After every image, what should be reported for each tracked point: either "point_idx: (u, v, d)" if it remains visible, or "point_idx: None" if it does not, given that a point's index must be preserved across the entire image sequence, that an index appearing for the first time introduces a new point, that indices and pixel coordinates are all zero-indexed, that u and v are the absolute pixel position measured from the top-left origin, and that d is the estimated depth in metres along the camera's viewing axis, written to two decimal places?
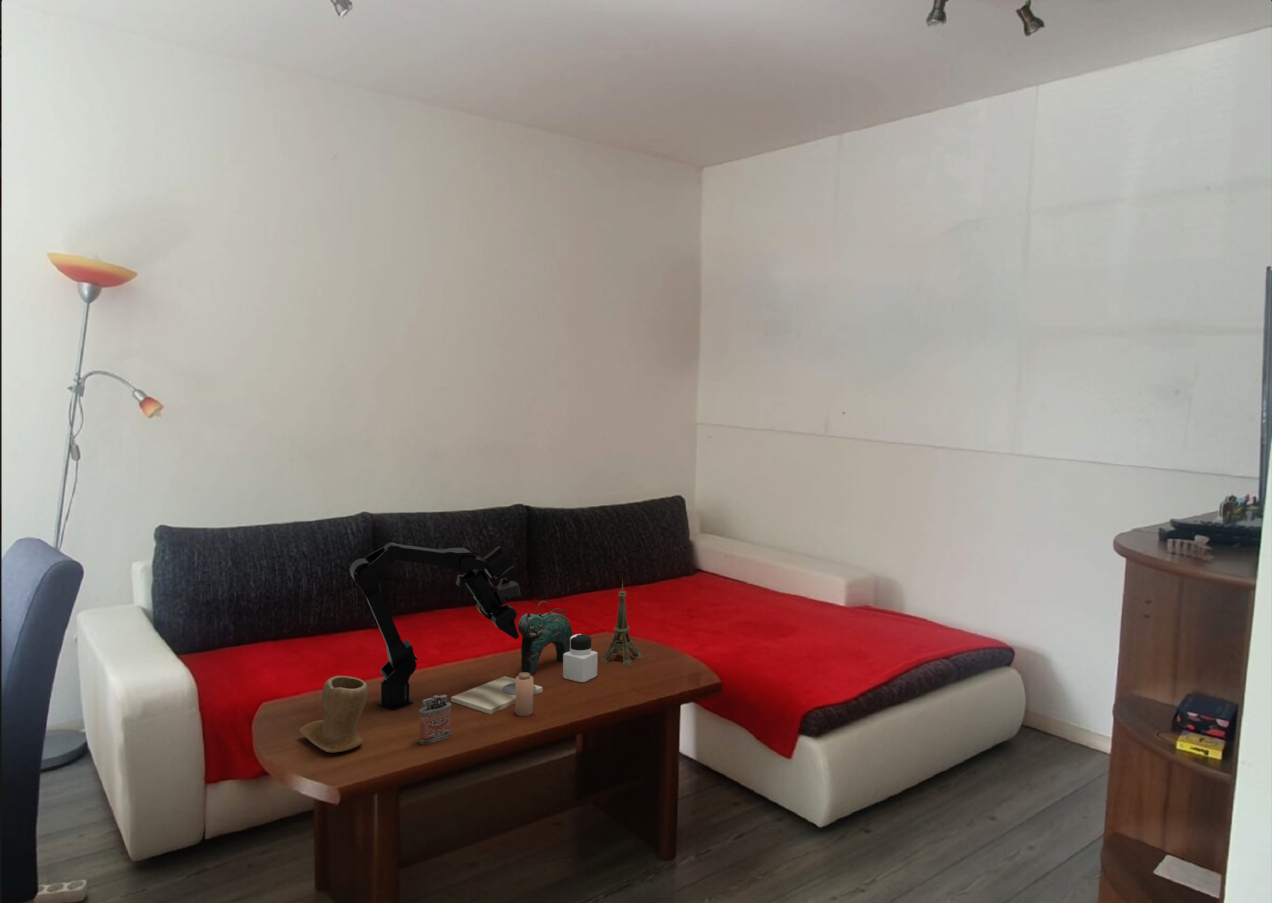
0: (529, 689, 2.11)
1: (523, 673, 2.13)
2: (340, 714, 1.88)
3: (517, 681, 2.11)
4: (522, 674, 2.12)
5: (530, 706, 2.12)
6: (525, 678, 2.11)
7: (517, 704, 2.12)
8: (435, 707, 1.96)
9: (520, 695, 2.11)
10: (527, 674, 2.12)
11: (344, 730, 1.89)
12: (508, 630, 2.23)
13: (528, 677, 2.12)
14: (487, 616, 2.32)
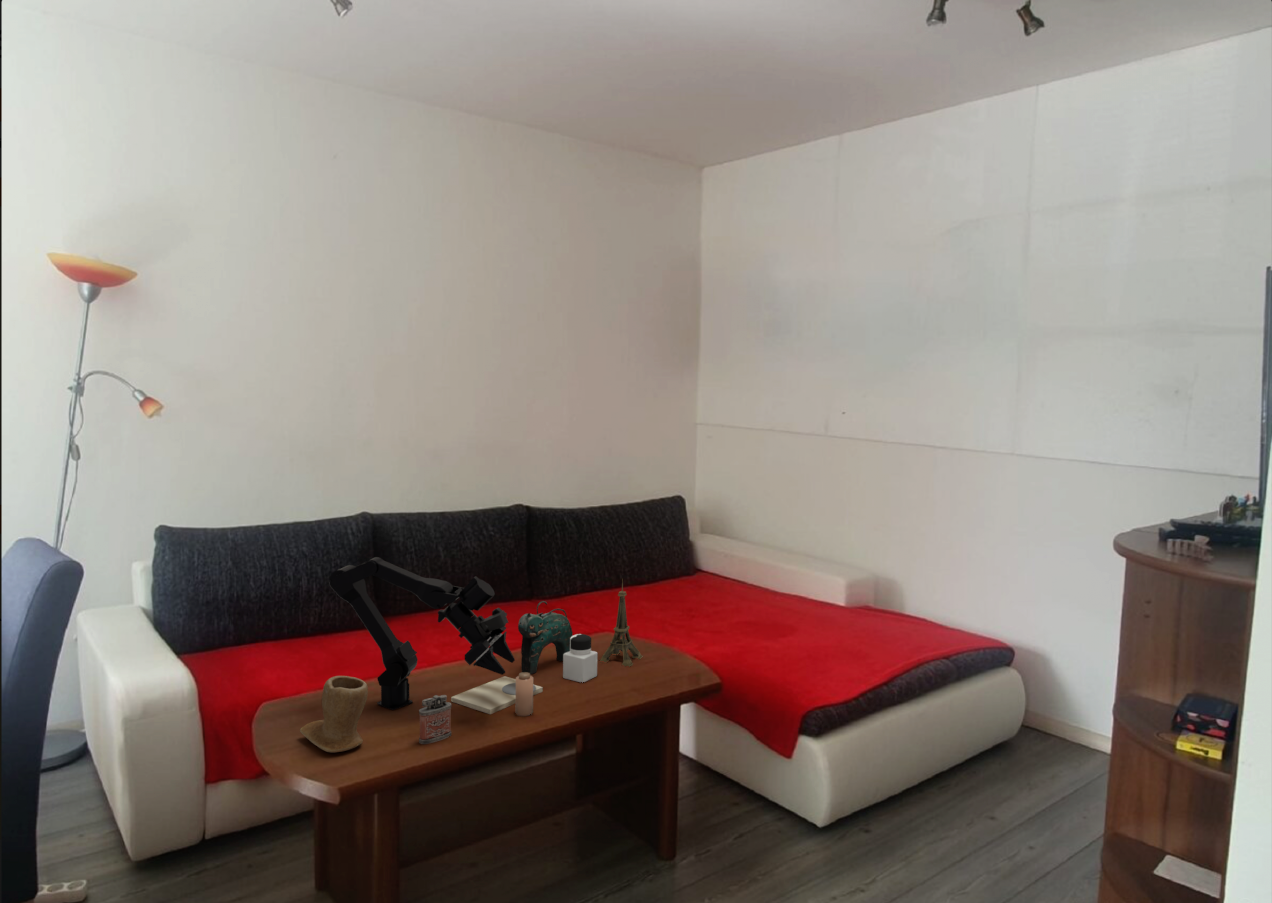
0: (529, 689, 2.11)
1: (523, 673, 2.13)
2: (340, 714, 1.88)
3: (517, 681, 2.11)
4: (522, 674, 2.12)
5: (530, 706, 2.12)
6: (525, 678, 2.11)
7: (517, 704, 2.12)
8: (435, 707, 1.96)
9: (520, 695, 2.11)
10: (527, 674, 2.13)
11: (344, 730, 1.89)
12: (488, 665, 2.07)
13: (528, 677, 2.12)
14: None
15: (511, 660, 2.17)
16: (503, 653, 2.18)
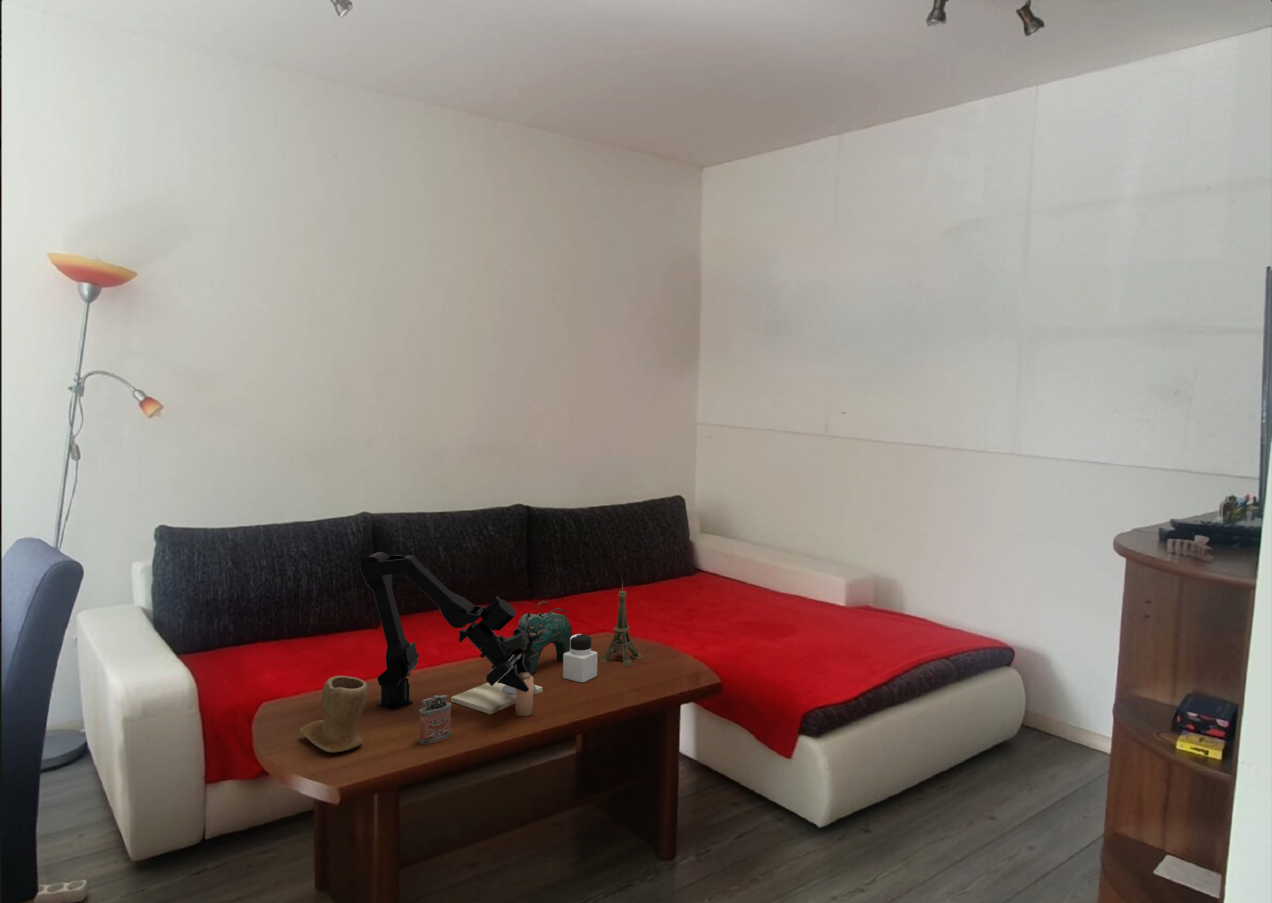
0: (529, 689, 2.11)
1: (523, 673, 2.13)
2: (340, 714, 1.88)
3: None
4: (522, 674, 2.12)
5: (530, 706, 2.12)
6: (525, 678, 2.11)
7: (517, 704, 2.12)
8: (435, 707, 1.96)
9: (520, 694, 2.11)
10: (527, 674, 2.12)
11: (344, 730, 1.89)
12: (512, 683, 2.09)
13: (528, 677, 2.12)
14: None
15: None
16: None
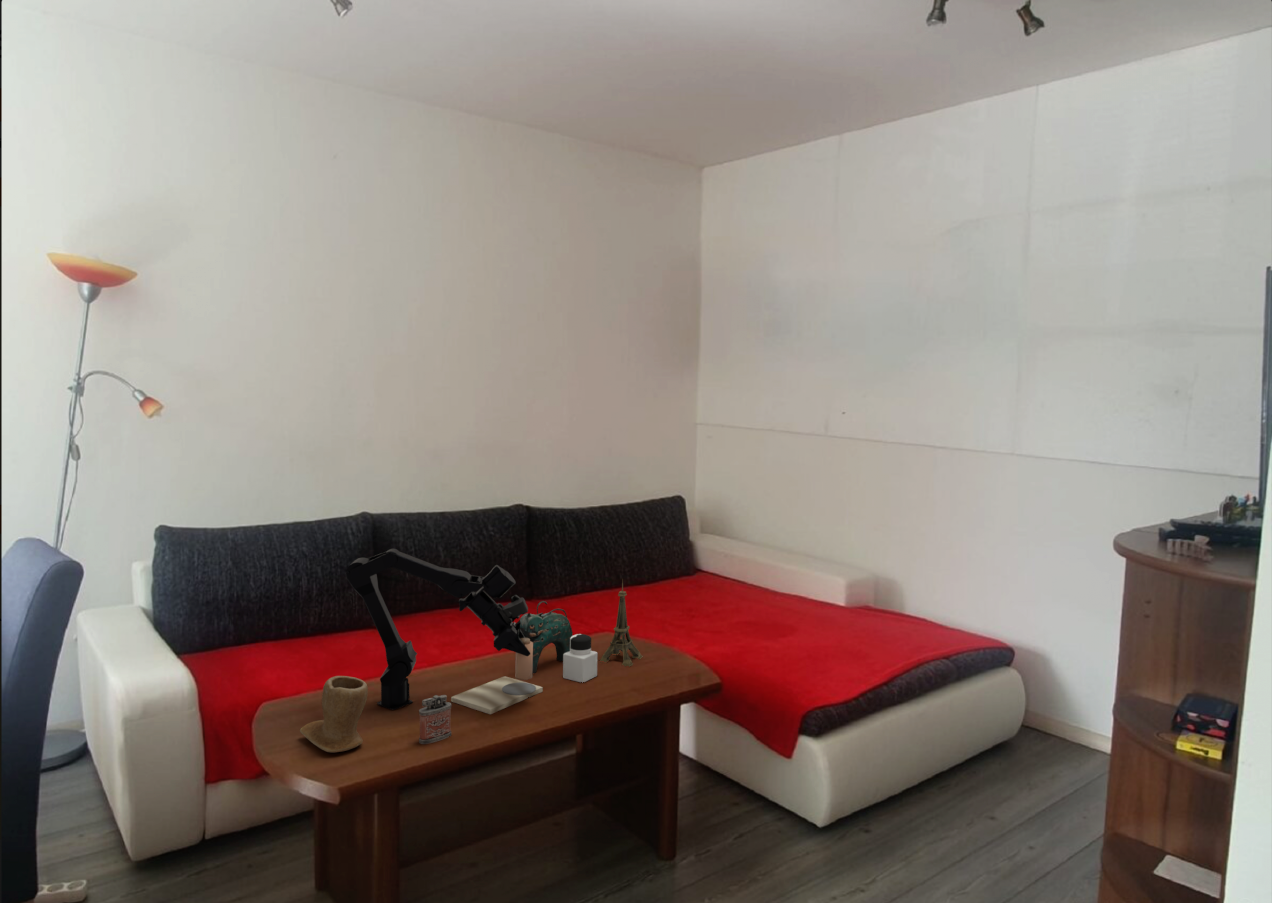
0: (530, 653, 2.18)
1: (523, 638, 2.19)
2: (340, 714, 1.88)
3: None
4: (523, 639, 2.18)
5: (531, 670, 2.19)
6: (526, 643, 2.18)
7: (518, 668, 2.18)
8: (435, 707, 1.96)
9: (522, 659, 2.17)
10: (527, 639, 2.19)
11: (344, 730, 1.89)
12: (515, 648, 2.15)
13: (528, 642, 2.19)
14: None
15: None
16: None
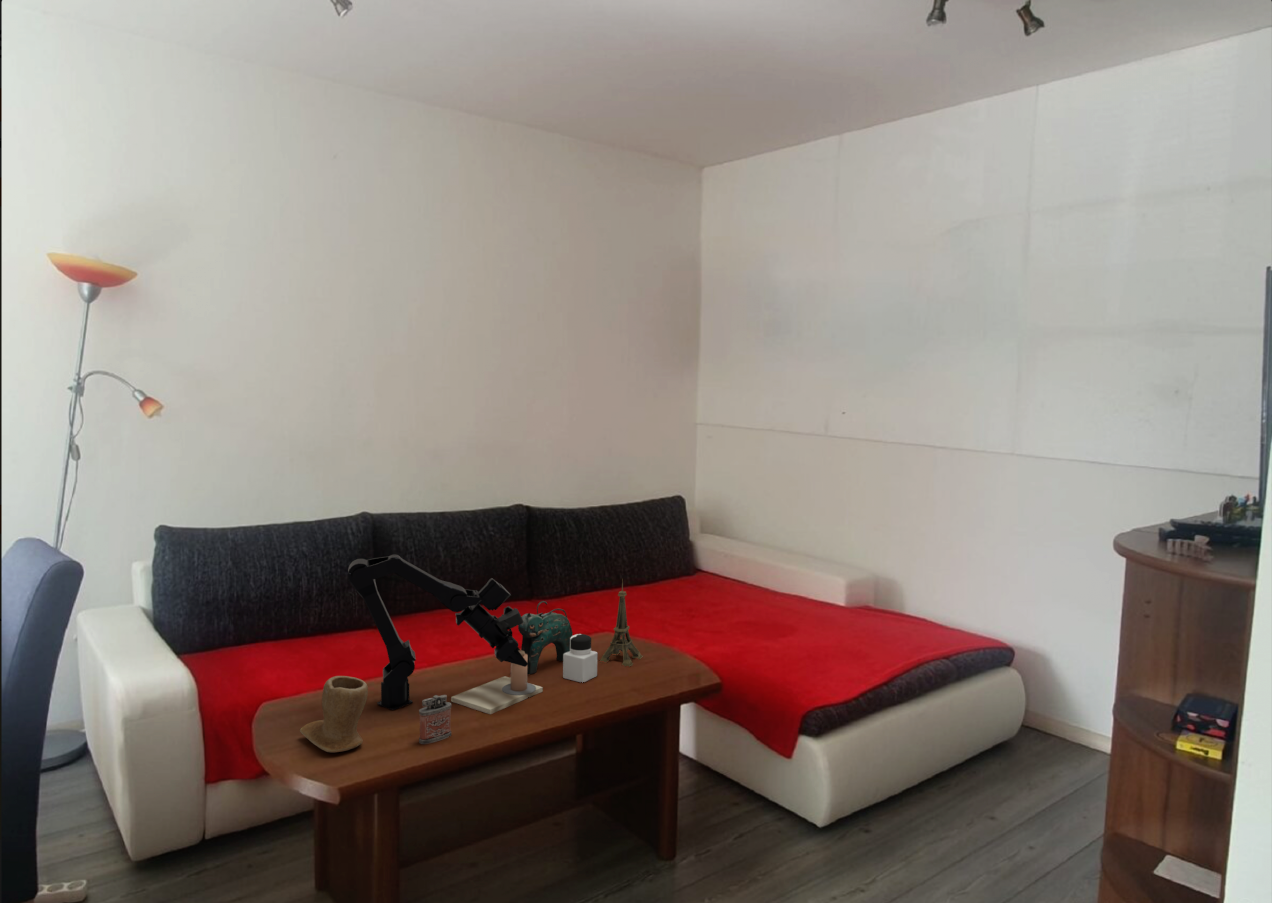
0: None
1: None
2: (340, 714, 1.88)
3: None
4: None
5: (526, 681, 2.26)
6: (522, 655, 2.25)
7: (515, 681, 2.24)
8: (435, 707, 1.96)
9: (518, 671, 2.24)
10: (522, 651, 2.26)
11: (344, 730, 1.89)
12: (514, 659, 2.20)
13: (524, 654, 2.25)
14: None
15: None
16: None
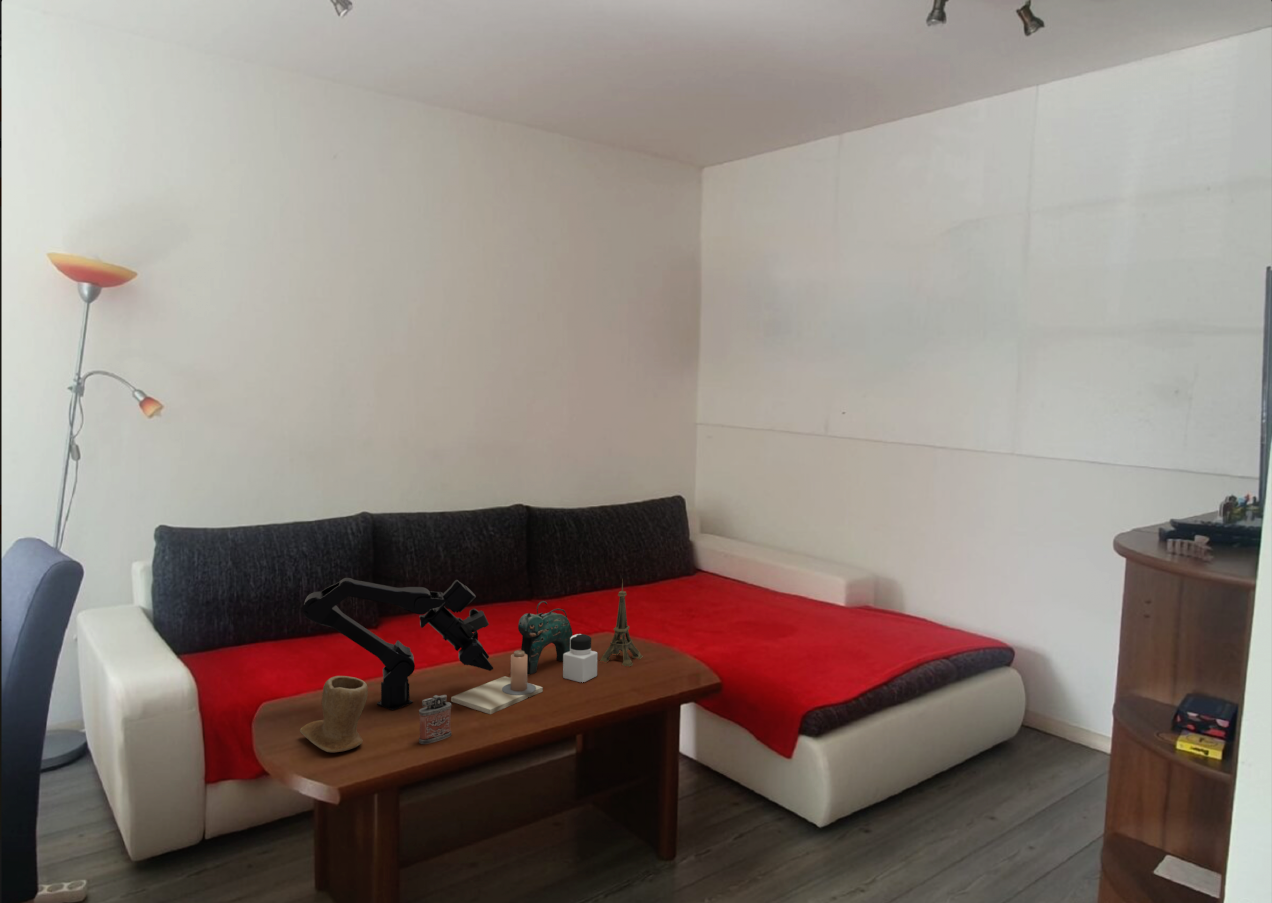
0: (526, 665, 2.25)
1: (517, 651, 2.26)
2: (340, 714, 1.88)
3: (514, 659, 2.24)
4: (518, 652, 2.25)
5: (526, 681, 2.26)
6: (522, 655, 2.25)
7: (515, 681, 2.24)
8: (435, 707, 1.96)
9: (518, 671, 2.24)
10: (522, 651, 2.26)
11: (344, 730, 1.89)
12: (479, 663, 2.17)
13: (524, 654, 2.25)
14: None
15: (486, 657, 2.28)
16: None
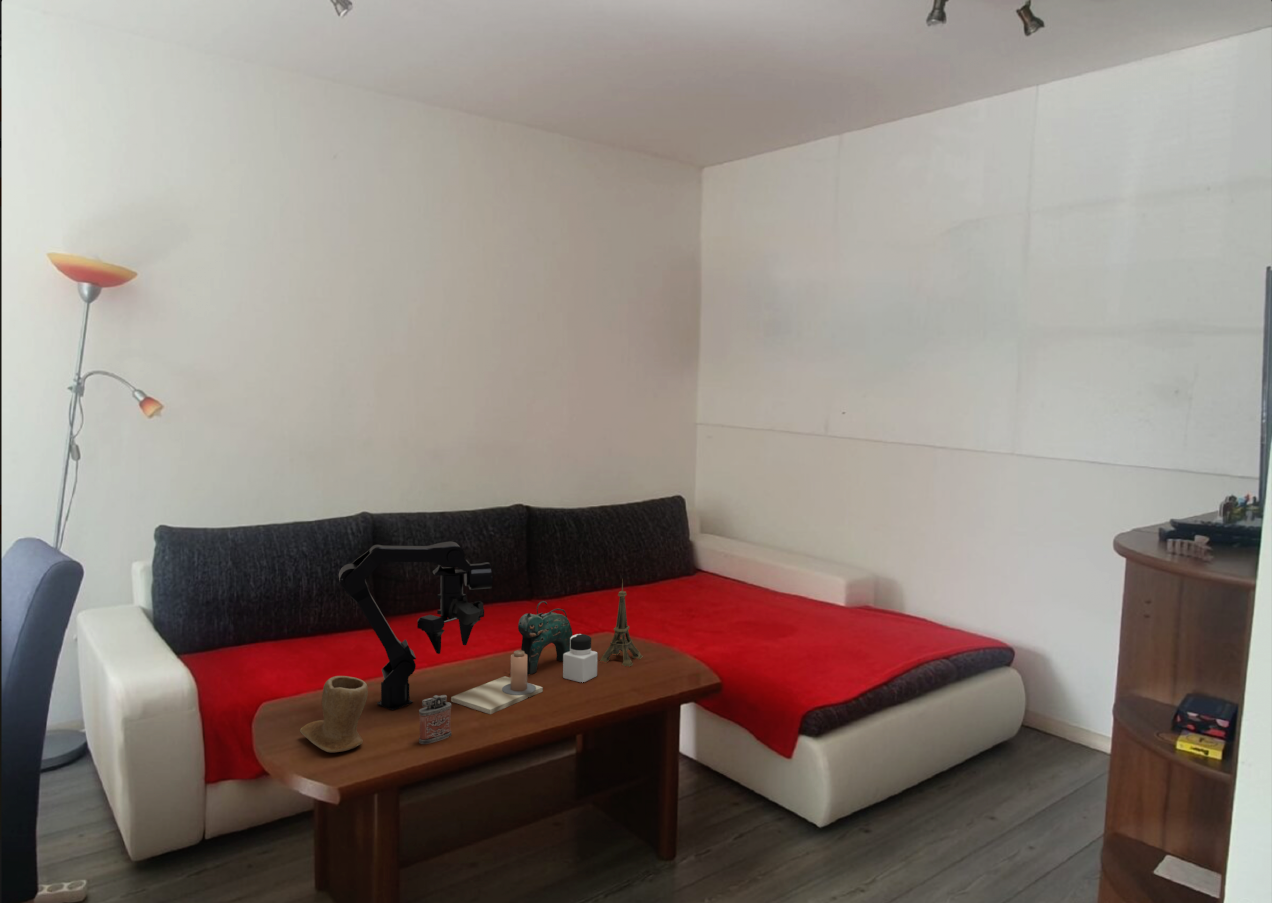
0: (526, 665, 2.25)
1: (517, 651, 2.26)
2: (340, 714, 1.88)
3: (514, 659, 2.24)
4: (518, 652, 2.25)
5: (526, 681, 2.26)
6: (521, 655, 2.25)
7: (515, 681, 2.24)
8: (435, 707, 1.96)
9: (518, 671, 2.24)
10: (522, 651, 2.26)
11: (344, 730, 1.89)
12: (432, 638, 2.17)
13: (523, 654, 2.25)
14: (459, 620, 2.27)
15: (463, 643, 2.25)
16: (463, 632, 2.25)
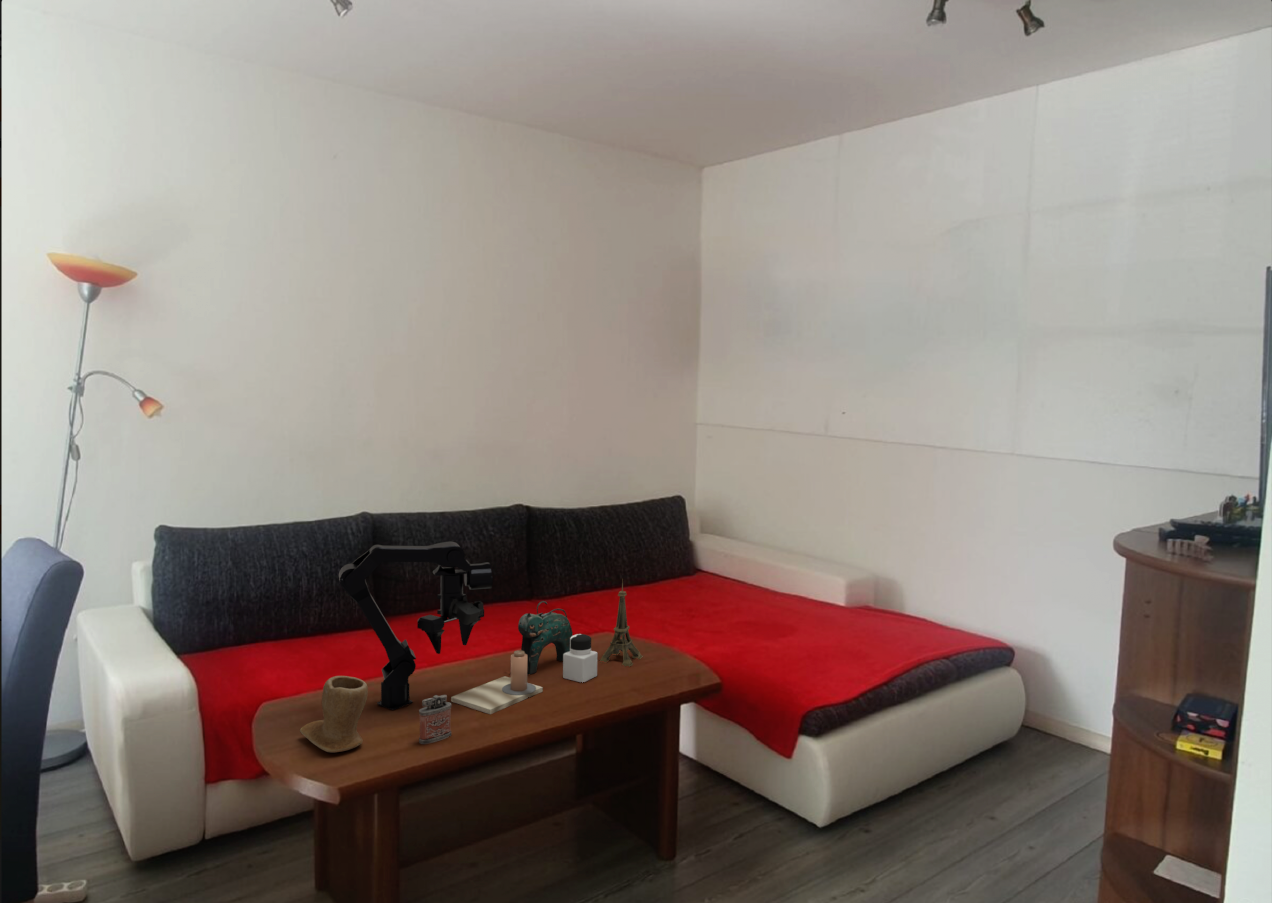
0: (526, 665, 2.25)
1: (517, 651, 2.26)
2: (340, 714, 1.88)
3: (514, 659, 2.24)
4: (518, 652, 2.25)
5: (526, 681, 2.26)
6: (522, 655, 2.25)
7: (515, 681, 2.24)
8: (435, 707, 1.96)
9: (518, 671, 2.24)
10: (522, 651, 2.26)
11: (344, 730, 1.89)
12: (432, 638, 2.17)
13: (524, 654, 2.25)
14: (459, 620, 2.27)
15: (463, 643, 2.25)
16: (463, 632, 2.25)
